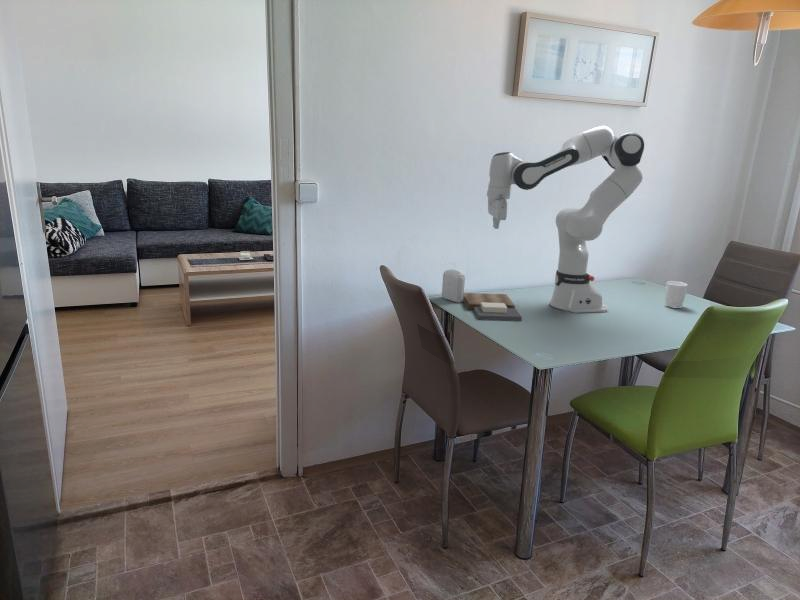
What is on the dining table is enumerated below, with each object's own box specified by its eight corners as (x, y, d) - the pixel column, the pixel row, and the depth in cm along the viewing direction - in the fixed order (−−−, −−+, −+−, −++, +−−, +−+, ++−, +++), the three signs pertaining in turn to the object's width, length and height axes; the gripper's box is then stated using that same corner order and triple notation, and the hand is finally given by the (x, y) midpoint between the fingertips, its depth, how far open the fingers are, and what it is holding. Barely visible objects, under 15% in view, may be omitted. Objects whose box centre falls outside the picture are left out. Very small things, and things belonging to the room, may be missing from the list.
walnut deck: (505, 300, 240) (506, 294, 240) (514, 311, 225) (515, 305, 224) (462, 298, 239) (463, 292, 239) (468, 310, 224) (468, 304, 223)
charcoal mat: (514, 311, 225) (515, 308, 224) (521, 320, 214) (521, 316, 214) (473, 310, 224) (474, 306, 223) (478, 319, 213) (478, 315, 213)
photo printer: (440, 297, 240) (441, 268, 237) (447, 296, 243) (449, 267, 239) (456, 303, 232) (459, 273, 229) (464, 302, 235) (467, 272, 231)
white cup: (673, 303, 246) (677, 280, 244) (687, 308, 239) (692, 285, 236) (658, 304, 244) (662, 281, 241) (672, 309, 237) (676, 286, 234)
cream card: (503, 308, 224) (504, 303, 223) (506, 312, 218) (507, 307, 217) (480, 307, 223) (480, 302, 223) (482, 311, 218) (483, 306, 217)
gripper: (512, 196, 222) (508, 232, 226) (501, 191, 242) (498, 224, 245) (496, 196, 222) (492, 232, 225) (486, 190, 241) (483, 224, 245)
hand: (495, 228), depth 236 cm, fingers closed
